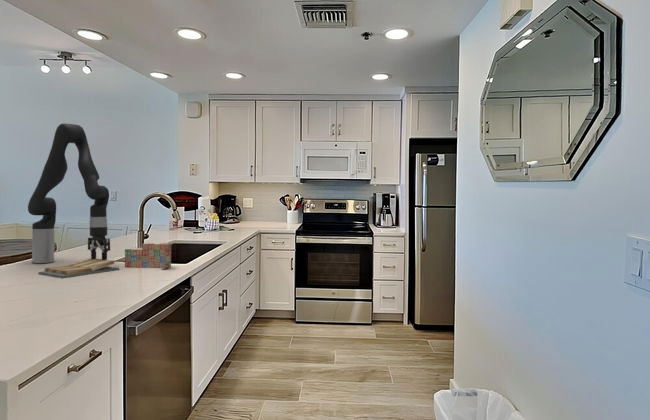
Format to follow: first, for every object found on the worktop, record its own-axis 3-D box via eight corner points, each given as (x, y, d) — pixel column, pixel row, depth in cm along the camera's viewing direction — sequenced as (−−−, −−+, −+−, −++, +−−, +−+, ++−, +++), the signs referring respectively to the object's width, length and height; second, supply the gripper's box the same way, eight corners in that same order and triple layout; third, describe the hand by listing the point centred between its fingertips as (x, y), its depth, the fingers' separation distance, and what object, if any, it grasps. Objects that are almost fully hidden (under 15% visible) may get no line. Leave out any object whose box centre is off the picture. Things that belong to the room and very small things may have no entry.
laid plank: (45, 271, 182) (45, 268, 182) (67, 268, 190) (67, 265, 190) (68, 274, 173) (68, 271, 173) (90, 271, 182) (90, 268, 182)
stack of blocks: (124, 267, 201) (124, 243, 201) (131, 265, 207) (131, 242, 207) (165, 268, 200) (165, 243, 199) (171, 266, 206) (171, 242, 206)
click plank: (69, 267, 191) (68, 264, 191) (91, 260, 200) (91, 258, 200) (92, 271, 182) (91, 268, 182) (114, 263, 192) (113, 260, 192)
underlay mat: (38, 274, 180) (38, 272, 180) (95, 266, 203) (95, 264, 203) (62, 278, 171) (62, 275, 171) (119, 269, 194) (119, 267, 194)
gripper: (82, 226, 196) (82, 259, 197) (100, 226, 189) (100, 261, 190) (97, 225, 203) (97, 257, 203) (114, 226, 196) (115, 259, 196)
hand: (99, 259), depth 196 cm, fingers open, 8 cm apart
